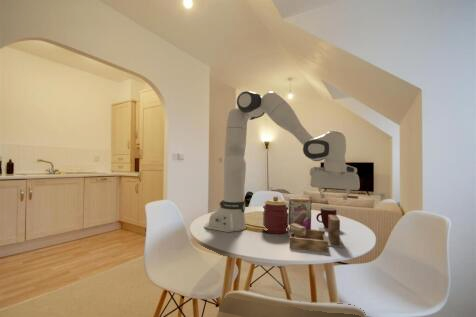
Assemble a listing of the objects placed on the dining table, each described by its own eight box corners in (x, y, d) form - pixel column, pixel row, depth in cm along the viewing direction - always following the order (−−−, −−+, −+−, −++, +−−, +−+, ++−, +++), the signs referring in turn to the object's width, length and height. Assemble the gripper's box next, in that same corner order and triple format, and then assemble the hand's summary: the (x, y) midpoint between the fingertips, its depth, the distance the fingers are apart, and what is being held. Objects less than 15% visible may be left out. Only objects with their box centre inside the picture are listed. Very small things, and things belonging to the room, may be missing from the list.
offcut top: (300, 236, 96) (300, 228, 96) (290, 231, 102) (290, 223, 102) (305, 235, 97) (305, 227, 97) (295, 231, 103) (295, 223, 103)
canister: (263, 233, 110) (263, 197, 111) (262, 226, 123) (262, 194, 124) (290, 234, 110) (290, 198, 110) (286, 227, 123) (286, 194, 123)
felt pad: (326, 246, 95) (326, 245, 95) (324, 236, 108) (324, 235, 108) (345, 248, 93) (345, 247, 93) (340, 238, 106) (340, 237, 106)
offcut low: (294, 246, 95) (294, 236, 96) (293, 239, 104) (293, 230, 104) (301, 246, 95) (301, 237, 95) (300, 239, 104) (300, 230, 104)
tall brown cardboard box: (330, 244, 96) (330, 219, 96) (328, 237, 106) (328, 214, 106) (339, 245, 95) (339, 220, 95) (336, 237, 105) (336, 215, 105)
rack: (289, 247, 93) (289, 237, 93) (291, 236, 107) (291, 227, 108) (327, 251, 89) (328, 241, 89) (324, 239, 103) (324, 230, 103)
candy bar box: (289, 230, 116) (289, 198, 116) (288, 228, 121) (288, 197, 121) (311, 231, 115) (311, 199, 115) (309, 229, 120) (309, 198, 120)
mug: (320, 229, 119) (321, 210, 119) (313, 225, 127) (313, 207, 127) (339, 229, 120) (339, 210, 121) (331, 225, 128) (331, 207, 129)
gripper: (310, 166, 101) (309, 197, 101) (361, 168, 95) (360, 201, 95) (310, 166, 107) (309, 195, 107) (357, 168, 101) (356, 199, 101)
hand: (333, 198), depth 101 cm, fingers open, 8 cm apart
